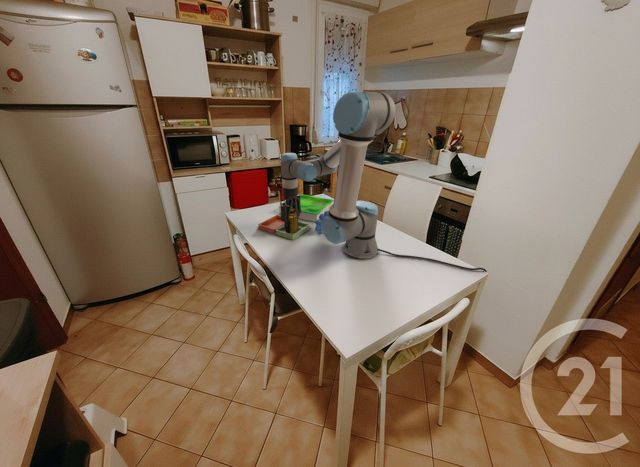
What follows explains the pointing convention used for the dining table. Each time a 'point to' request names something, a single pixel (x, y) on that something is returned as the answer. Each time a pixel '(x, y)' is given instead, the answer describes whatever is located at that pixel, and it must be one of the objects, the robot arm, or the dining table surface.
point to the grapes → (318, 222)
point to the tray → (313, 207)
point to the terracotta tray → (271, 224)
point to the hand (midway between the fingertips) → (292, 229)
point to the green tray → (292, 236)
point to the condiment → (293, 222)
